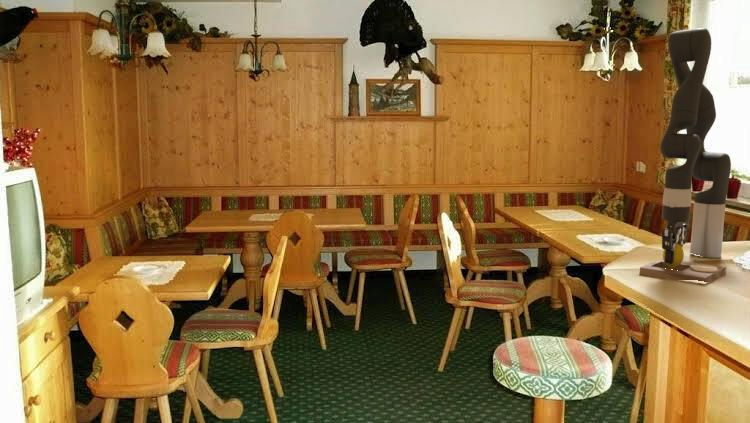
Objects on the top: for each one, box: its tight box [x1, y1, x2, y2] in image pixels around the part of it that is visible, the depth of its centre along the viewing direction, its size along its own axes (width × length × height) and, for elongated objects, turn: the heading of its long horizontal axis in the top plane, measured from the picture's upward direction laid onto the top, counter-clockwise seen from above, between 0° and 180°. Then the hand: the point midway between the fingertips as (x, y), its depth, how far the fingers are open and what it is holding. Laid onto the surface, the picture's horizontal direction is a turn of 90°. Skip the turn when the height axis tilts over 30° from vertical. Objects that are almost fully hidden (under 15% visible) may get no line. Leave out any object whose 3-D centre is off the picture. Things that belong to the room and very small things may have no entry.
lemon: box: [662, 243, 685, 269], centre depth 215 cm, size 6×6×8 cm
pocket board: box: [639, 257, 727, 283], centre depth 214 cm, size 18×18×2 cm
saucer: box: [690, 263, 717, 272], centre depth 211 cm, size 7×7×1 cm
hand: (672, 261), depth 215 cm, fingers closed on lemon, 5 cm apart
